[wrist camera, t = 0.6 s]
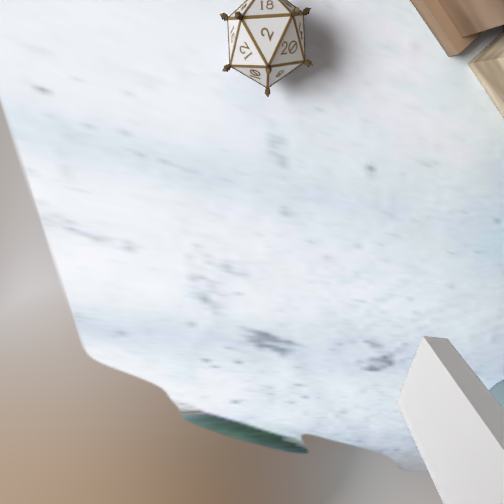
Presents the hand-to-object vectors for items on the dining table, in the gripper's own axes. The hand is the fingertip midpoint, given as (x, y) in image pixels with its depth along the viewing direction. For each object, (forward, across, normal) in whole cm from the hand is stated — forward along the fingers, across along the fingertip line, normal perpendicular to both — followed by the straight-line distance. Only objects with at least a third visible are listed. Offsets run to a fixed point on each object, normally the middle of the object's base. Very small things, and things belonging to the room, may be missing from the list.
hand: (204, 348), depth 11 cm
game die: (+33, +1, +12) cm, 36 cm away
